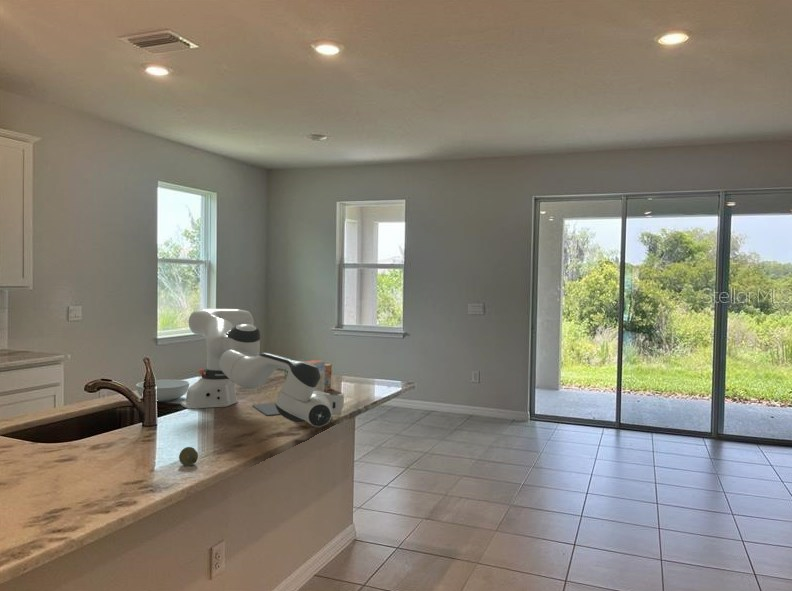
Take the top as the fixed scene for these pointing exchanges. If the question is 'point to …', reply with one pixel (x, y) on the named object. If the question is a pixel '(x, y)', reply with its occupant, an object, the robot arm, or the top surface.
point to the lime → (188, 456)
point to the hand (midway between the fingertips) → (313, 396)
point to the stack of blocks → (326, 379)
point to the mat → (267, 409)
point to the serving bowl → (167, 389)
